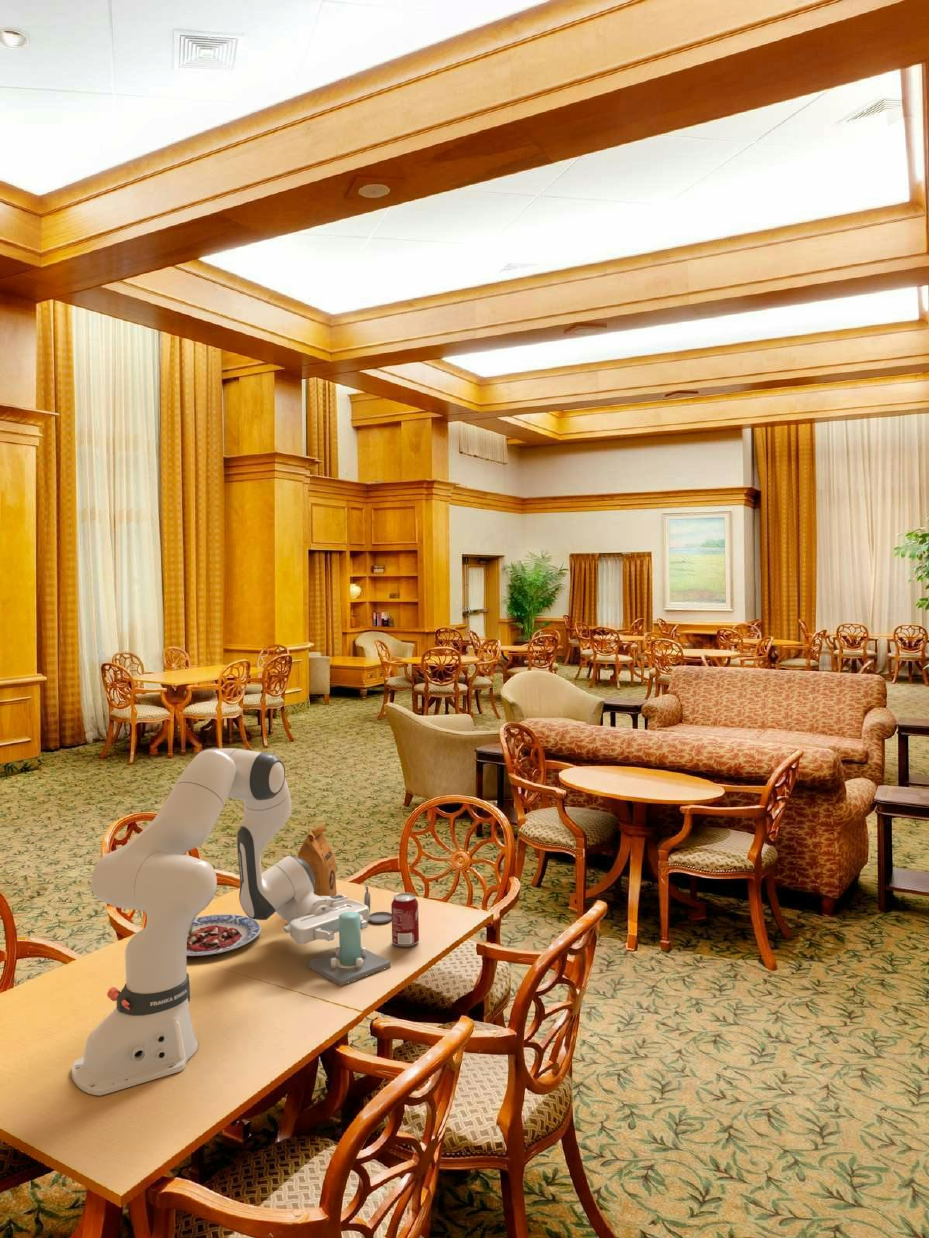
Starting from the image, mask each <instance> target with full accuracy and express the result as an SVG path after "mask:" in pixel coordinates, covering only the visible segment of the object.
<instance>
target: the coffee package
mask: <svg viewBox="0 0 929 1238" xmlns="http://www.w3.org/2000/svg"><path fill="white" fill-rule="evenodd" d="M325 831H327V827H326V825H325V824H320V825H318V826H316V827H315V828H313V829H311V830H310V831H309V833H308V834H307V835H306V838H305V840H304V841H303V843H302V845H301V846H300V849H299V851H298V853H297V857H299V858H301V859H303V860H304V861H305V862H307V864H308V865H309V866H310V868H311V869H312V872H313V874H314V879H315V890H314V892H313V893H314V894H315V895H318V896H336V895H337V879H336V877H337V875H336V874H337V867H336V866H337V863H336V862H337V861H336V858H335V855H334V852H333V850H332V848H331V846H330V845H329V844H328V842H327V839H326V837H325V834H324V832H325Z"/></svg>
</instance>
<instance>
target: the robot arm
mask: <svg viewBox="0 0 929 1238" xmlns="http://www.w3.org/2000/svg"><path fill="white" fill-rule="evenodd" d="M291 797H292V796H291V791H290V789H289V784H288V782H287V778H286V768H285V765H284V762H283V761H282V760H281V758H279V756H278V755H276V754H273V753H269V752H267V751H266V752H265V751H262V752H260V751H257V750H249V749H242V748H235V747H234V748H232V747H231V748H229V747H228V748H225V747H224V748H218V747H208V748H205V749H202V750H200V751H198V752H197V753H196V754H195V756H194V757H192V760H191V761H190V762H189V764H187V766H186V768H185V769H184V770H183V772H182V773H181V774H180V777H178V779H177V781H176V782H175V784H174V786H173V787H172V790H171V791H170V792H169V794H168V796H167V798H166V800H165V802H164V803H163V805H162V806H161V808H160V809H159V811H158V813H157V814H156V816H155V817H154V818H153V819H152V821H151V822H149V824H148V825H147V826H146V827H145V828H144V829H143V830H142V831H141V832H139V833H138V834H137V835H136V836H135V837H133V838H132V839H131V840H130V841H128V842H127V843H126V844H124V845H122V846H121V847H119V848H117V849H114V850H113V851H111V852H108V853H106V854H104V855H103V856H102V857H101V858H100V859H99V861H98V862H97V863H96V865H95V866H94V869H93V871H92V875H91V882H90V883H91V889H92V893H93V895H94V896H95V898H96V899H97V900H98V901H101V902H102V903H105V904H106V905H107V904H108V905H110V906H112V907H115V908H118V909H123V910H124V909H125V910H131V911H141V912H145V915H146V924H145V927H144V928H142V929H141V930H139V931H137V932H136V933H135V934H134V935H133V936H132V937H131V938H130V939H129V940H128V943H127V944H126V947H125V950H124V954H125V959H124V960H125V984H124V986H123V987H122V989H121V991H120V990H119V989H118V988H117V987H114V986H113V987H110V988H109V989H108V991H107V994H106V995H107V997H108V999H110V1000H111V1001H112V1002H115V1003H116V1004H115V1005H116V1007H115V1008H114V1009H113V1010H112V1011H111V1012H110V1013H109V1014H108V1016H106V1018H104V1019H103V1020H102V1021H101V1022H100V1023H99V1024H98V1025H97V1026H96V1027H95V1028H94V1029H93V1030H92V1031H91V1032H90V1033H89V1035H88V1036H87V1040H86V1043H85V1048H84V1054H83V1055H84V1056H82V1057H80V1058H78V1059H76V1060H75V1061H74V1062H73V1063H72V1065H71V1066H72V1067H71V1071H70V1072H71V1078H72V1081H73V1082H74V1084H75V1085H76V1086H77V1087H78V1088H79V1089H80V1090H81V1091H83V1092H84V1093H86V1094H89V1095H93V1096H99V1097H100V1096H104V1095H108V1094H110V1093H114V1092H117V1091H120V1090H124V1089H127V1088H130V1087H133V1086H137V1085H141V1084H144V1083H148V1082H150V1081H153V1080H157V1079H160V1078H163V1077H166V1076H170V1075H173V1074H176V1073H180V1072H181V1071H184V1070H185V1068H186V1065H187V1062H188V1060H190V1058H191V1057H193V1055H194V1054H195V1052H196V1051H197V1049H198V1047H199V1043H198V1040H197V1038H196V1035H195V1032H194V1028H193V1023H192V1018H191V1011H190V1000H191V995H190V994H191V985H190V984H191V983H190V976H189V973H188V971H187V970H188V969H187V963H188V961H187V957H188V956H187V938H188V933H189V929H190V927H191V924H192V922H193V920H194V919H195V918H197V917H198V915H200V914H201V913H202V912H203V911H204V910H206V908H208V906H209V905H210V904H211V902H212V901H213V899H214V897H215V895H216V891H217V886H218V878H217V873H216V871H215V869H214V866H213V865H212V864H211V863H210V862H208V861H205V860H203V859H201V858H197V857H194V856H192V855H189V854H186V853H188V852H190V851H192V850H194V849H196V848H198V847H200V846H202V845H203V844H204V843H205V842H206V841H207V840H208V839H209V837H210V835H211V833H212V832H213V831H212V830H213V829H214V828H215V825H216V823H217V821H218V820H219V817H220V815H221V813H222V811H223V810H224V807H225V805H226V803H227V801H228V799H229V798H230V799H232V800H233V799H234V800H242V803H243V808H244V809H243V819H242V822H241V825H240V828H239V829H238V831H237V833H236V846H237V847H236V848H237V849H236V850H237V861H238V872H239V895H238V900H239V903H240V906H241V908H242V911H243V913H244V914H245V916H246V917H249V918H251V919H254V920H256V921H266V920H268V919H269V918H271V917H272V916H273V915H274V914H275V913H276V914H277V915H278V916H279V917H280V918H281V919H283V920H284V921H285V922H287V923H286V924H285V925H284V926H283V928H282V930H283V931H284V932H285V933H288V934H289V935H290V937H291V938H292V939H293V940H294V941H295V942H297V943H298V944H303V945H305V944H308V943H311V942H314V941H317V940H321V941H322V940H324V941H327V942H330V941H333V940H335V934H337V933H339V915H340V914H342V913H346V912H357V913H359V914H360V931H362V930H364V929H366V928H368V922H370V921H369V908H368V906H367V905H365V904H364V902H361V901H358V900H355V899H351V898H348V896H347V895H346V894H338V895H337V894H336V896H318V895H315V894H314V893H313V892H314V890H315V879H314V874H313V872H312V869H311V868H310V866H309V865H308V864H307V862H305V861H304V860H303V859H301V858H299V857H298V855H297V856H296V855H289V854H287V856H285V857H283V858H282V859H280V860H279V861H278V862H276V863H274V864H273V865H271V866H270V867H269V868H268V869H266V870H264V871H263V872H262V861H261V858H262V854H263V852H264V850H265V848H266V847H267V845H268V844H269V842H271V840H272V839H273V838H274V837H275V836H276V835H277V833H279V832H280V831H281V830H282V829H283V828H284V826H285V825H286V823H287V822H288V820H289V818H290V816H291V813H292V807H293V804H292V803H293V802H292V798H291Z"/></svg>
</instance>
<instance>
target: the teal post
mask: <svg viewBox="0 0 929 1238" xmlns="http://www.w3.org/2000/svg"><path fill="white" fill-rule="evenodd" d="M361 931H362V930H361V929H360V914H359V913H357V912H346V913H342V914H340V915H339V932H338V935H339V937H338V939H339V947H340V964H341V965H343V966H355V965H356V958H361V947H362V941H361V937H362V933H361Z"/></svg>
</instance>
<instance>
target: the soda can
mask: <svg viewBox="0 0 929 1238" xmlns="http://www.w3.org/2000/svg"><path fill="white" fill-rule="evenodd" d="M391 914H392V919H391V938H392V939H391V942H392V944H393V945H395V946H397V947H399V948H411V947H412V946H414V944H415V945H416V944H418V943H419V941H420V929H419V928H420V925H419V919H420V918H419V901H418V900H417V898H416V894H414V893H413V892H412V893H411V892H400V893H399V892H398V893H396V894H394V896H393V900H392V902H391Z"/></svg>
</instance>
